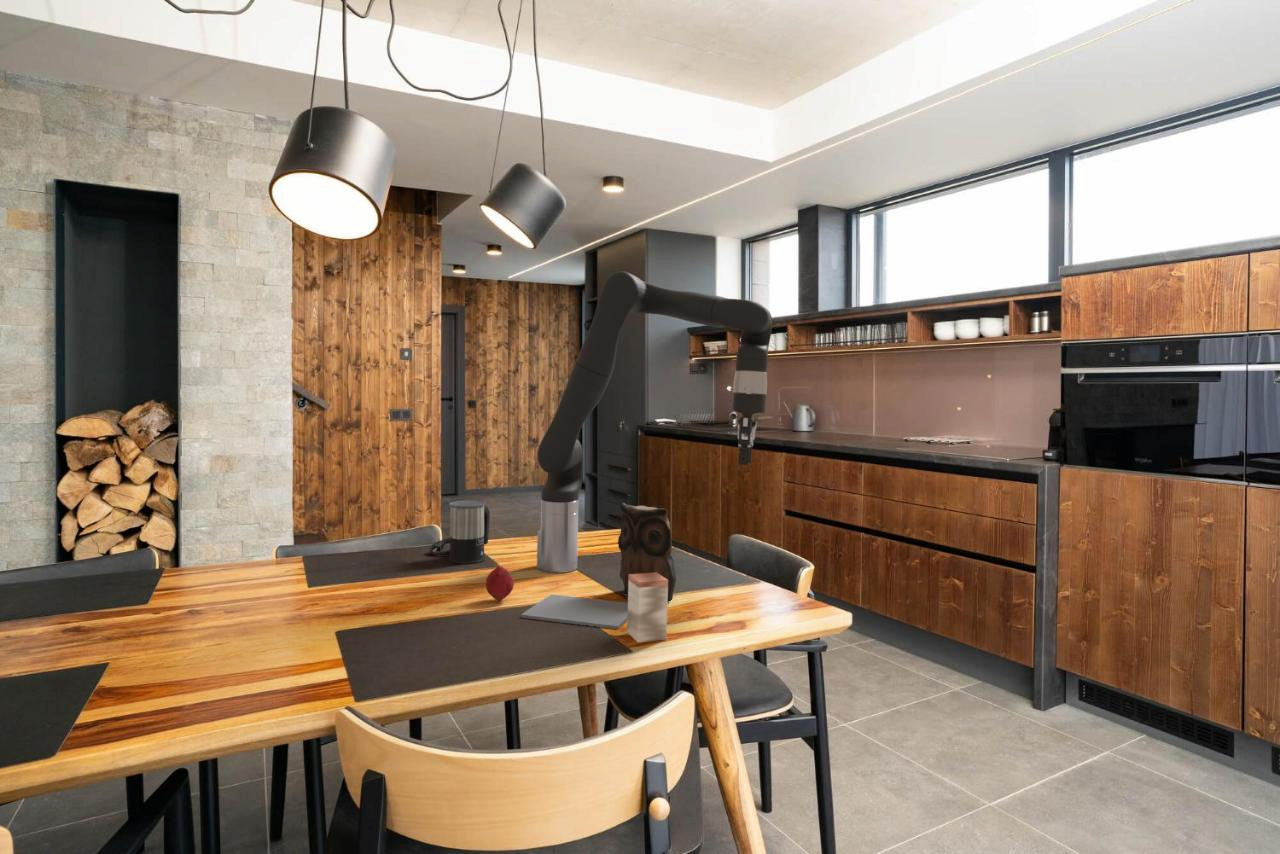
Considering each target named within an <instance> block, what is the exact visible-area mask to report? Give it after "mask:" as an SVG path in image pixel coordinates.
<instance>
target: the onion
mask: <svg viewBox="0 0 1280 854" xmlns="http://www.w3.org/2000/svg"><path fill="white" fill-rule="evenodd" d="M484 585H485V589H486V591H487V593H488V594H489V595H490V596H491V597H492V598H493V599H494V600H495V601H497V602H501V601H503V600H504V599H505V598H507V597H508V596H509V595H510V594H511V592H512V591H513V589H514V585H515V582H514V578H513V576H512V574H511V573H510V572H509V570H508V569H507V568H505V567H503V565H502V564H501V563H500V562H498V563H497V564H496V567H495V568H494V569H493V570H491V571H490V573H489V574H488V575H487V577H486V579H485V583H484Z"/></svg>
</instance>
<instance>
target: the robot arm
mask: <svg viewBox="0 0 1280 854" xmlns="http://www.w3.org/2000/svg"><path fill="white" fill-rule="evenodd" d="M602 285H603V286H602V288H601V291H600V295H599V299H598V302H597V305H596V308H595V312H594V315H593V319H592V322H591V324H590V327H589V329H588V332H587V333H586V336H585V339H584V341H583V343H582V346H581V348H580V350H579V353H578V356H577V358H576V360H575V362H574V364H573V368H572V369H571V372H570V375H569V378H568V380H567V383H566V386H565V389H564V391H563V393H562V396H561V399H560V401H559V404H558V407H557V409H556V412H555V414H554V417H553V418H552V421H551V423H550V424H549V426H548V429H546V432H545V434H544V436H543V438H542V439H541V441H540V443H539V445H538V449H537V454H536V455H537V462H538V465H539V467H540V468H541V469H542V470H543V471H544V472H545V473H547V477H546V481H545V483H544V485H543V487H542V488H541V490H540V491H541V493H540V496H541V497H540V501H541V503H540V529H539V530H537V536H536V537H537V538H536V539H537V540H536V543H537V545H536V550H537V551H536V552H537V553H536V569H537V570H541V571H544V572H550V573H569V572H573V571H576V570H577V569H578V552H579V551H578V550H579V549H578V548H579V547H578V545H579V542H578V541H579V505H580V504H579V500H580V497H579V496H580V491H581V489H582V482H583V469H584V467H583V465H584V453H583V452H584V451H583V447H582V444H581V442H580V441H579V440H578V437H579V434H580V431H581V429H582V428H583V425H584V423H585V422H586V420H587V419H588V417H589V416H590V415H591V413H593V410H594V409H595V408H596V407H597V406H598V404H599V403H600V401H601V399H602V397H603V396H604V394H605V392H606V389H607V388H608V385H609V383H610V380H611V378H612V375H613V372H614V368H615V366H616V365H615V364H616V357H617V350H618V348H617V347H618V342H619V341H618V340H619V337H620V333H621V330H622V328H623V326H624V323H625V322H626V319H627V318H628V316H629V314H630V315H631V314H646V315H647V314H648V315H649V314H651V315H660V316H667V317H671V318H675V319H679V320H682V321H686V322H690V323H695V324H697V325H704V326H708V327H713V328H721V329H722V328H727V329H731V330H737V331H741V334H740V345H739V347H738V349H737V352H736V362H735V374H734V377H733V384H732V385H733V387H732V388H733V389H732V399H731V401H732V402H731V411H732V412H733V413H740V414H741V417H740V418H739V420H738V421H737V439H738V441H737V444H738V445H737V446H738V448H739V449H738V463H737V464H738V465H740V466H748V465H749V464H751V463H752V453H753V452H752V451H753V446H754V443H755V439H756V431H757V426H758V423H757V421H756V419H755V418H754V417H755V415H757V414H758V415H764V414H765V413H766V407H767V405H766V404H767V393H768V392H767V391H768V390H767V389H768V374H767V373H768V361H769V352H768V351H769V347H770V342H771V335H772V328H773V327H772V326H773V317H772V315H771V311H770V310H769V309H768V308H767V307H766V306H765V305H764V304H763V303H761V302H759V301H753V300H749V299H739V298H727V297H724V296H721V295H720V296H719V295H714V294H709V293H704V292H698V291H687V290H686V291H685V290H676V289H675V290H674V289H668V288H664V287H660V286H657V285H654V284H652V283H649V282H646V281H644V280H641V279H640V278H639V277H638V276H636V275H634V274H632V273H630V272H627V271H617V272H614V273H612V274H611V275H609V276H608V277H607V278H606V280H605V281H604V284H602Z"/></svg>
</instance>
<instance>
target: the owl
mask: <svg viewBox="0 0 1280 854" xmlns="http://www.w3.org/2000/svg"><path fill="white" fill-rule="evenodd" d="M620 509H621V518H620V519H621V520H620V534H619V536H618V541H617V545H618V547H617V548H618V549H619V551H620V554H621V559H620V570H619V577H620V579H621V580H622V582H623V586H624V589H623V590H622V591H623V593H624V594H626V595H627V596H628V579H629V574H641V573H655V572H657V573H658V574H660V575H661V576H663V577H664V578H666V579H667V580H668V601H671V600H672V599H673V597H674V593H675V588H676V582H677V575H676V574H677V573H676V570H675V563H674V562H675V560H674V558H673V557H674V556H673V544H672V542H673V536H672V530H671V527H670V526H671V522H670V521H669V518H668V515H669V511H668V509H667V508H657V507H654V506H653V507H652V506H650V507H649V506H646V505H637V506H634V505H630V504H626V503H625V502H621V504H620ZM623 593H622V594H623ZM624 594H623V595H624ZM627 596H626V597H627ZM673 600H674V599H673Z"/></svg>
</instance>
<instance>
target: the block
mask: <svg viewBox="0 0 1280 854" xmlns="http://www.w3.org/2000/svg"><path fill="white" fill-rule="evenodd" d="M627 603H628V618H627V621H626V622H627V623H626V625H627V627H626V628H627V629H626V633H627V634H628V635H629V636H630V637H631V638H632V639H633V640H634V641H636V642H637V643H646V642H654V641H655V642H656V641H666V640H667V637H668V636H667V633H668V632H667V629H668V603H669V602H668V580H667V579H666V578H664V577H663V576H661V575H660V574H658V573H657V572H655V573H641V574H629V579H628V597H627ZM665 639H666V640H665Z"/></svg>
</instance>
